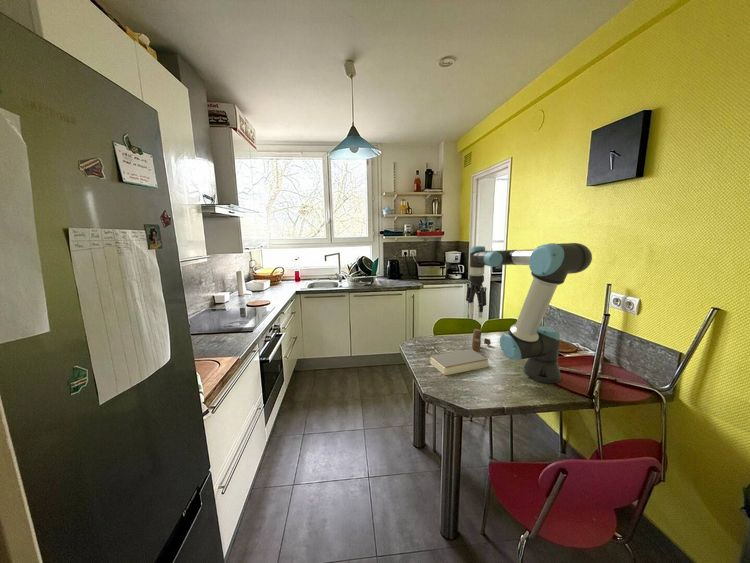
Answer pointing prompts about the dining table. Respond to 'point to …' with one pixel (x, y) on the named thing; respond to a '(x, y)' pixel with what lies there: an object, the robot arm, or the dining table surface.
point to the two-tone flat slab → (458, 361)
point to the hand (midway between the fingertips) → (475, 315)
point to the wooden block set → (478, 340)
